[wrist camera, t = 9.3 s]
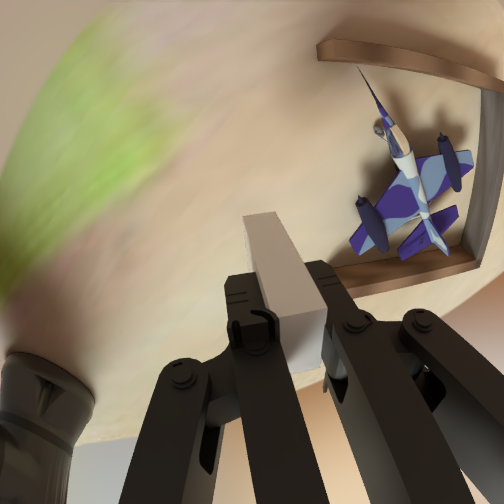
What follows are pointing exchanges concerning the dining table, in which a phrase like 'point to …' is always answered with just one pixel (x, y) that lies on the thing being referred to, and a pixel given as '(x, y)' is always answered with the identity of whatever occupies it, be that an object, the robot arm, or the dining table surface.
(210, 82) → the dining table surface
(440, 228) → the toy airplane
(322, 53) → the frame
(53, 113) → the dining table surface
